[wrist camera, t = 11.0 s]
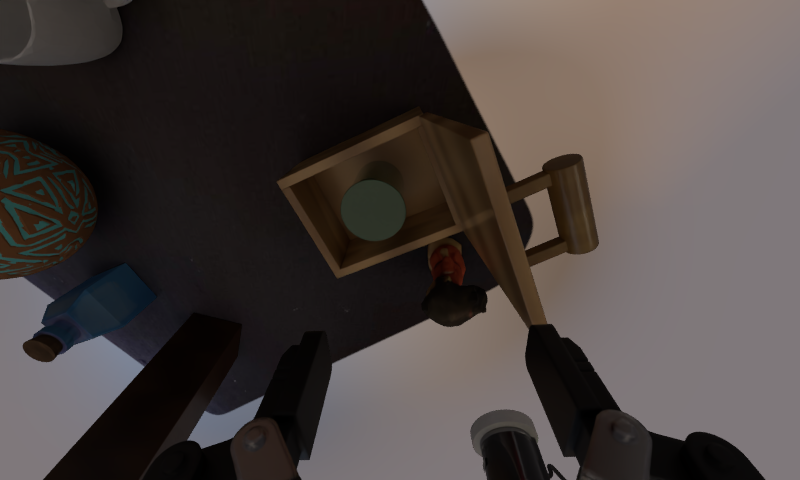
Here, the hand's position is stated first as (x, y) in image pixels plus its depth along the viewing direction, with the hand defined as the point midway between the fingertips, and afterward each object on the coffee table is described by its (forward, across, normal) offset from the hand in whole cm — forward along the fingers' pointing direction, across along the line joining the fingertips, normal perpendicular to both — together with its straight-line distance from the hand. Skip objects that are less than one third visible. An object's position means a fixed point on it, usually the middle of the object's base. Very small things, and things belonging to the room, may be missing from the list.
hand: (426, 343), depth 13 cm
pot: (+27, +4, +1) cm, 27 cm away
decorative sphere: (+28, +42, 0) cm, 50 cm away
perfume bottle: (+28, +41, +15) cm, 52 cm away
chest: (+28, +4, +1) cm, 28 cm away
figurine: (+28, -4, +12) cm, 30 cm away
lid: (+11, -3, -1) cm, 12 cm away
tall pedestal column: (+28, +31, +24) cm, 48 cm away
